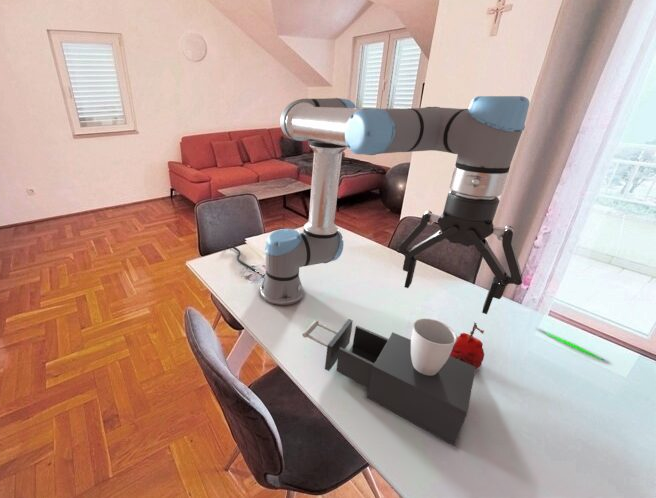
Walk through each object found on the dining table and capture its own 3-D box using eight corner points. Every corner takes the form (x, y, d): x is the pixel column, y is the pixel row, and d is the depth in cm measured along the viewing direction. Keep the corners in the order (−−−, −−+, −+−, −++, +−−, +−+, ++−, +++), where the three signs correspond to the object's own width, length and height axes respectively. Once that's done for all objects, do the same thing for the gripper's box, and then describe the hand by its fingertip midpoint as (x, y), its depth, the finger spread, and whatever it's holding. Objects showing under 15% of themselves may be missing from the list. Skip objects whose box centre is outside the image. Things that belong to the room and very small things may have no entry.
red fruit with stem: (482, 364, 83) (500, 319, 77) (474, 379, 78) (492, 332, 72) (451, 348, 88) (465, 304, 82) (441, 361, 84) (455, 316, 78)
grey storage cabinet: (366, 397, 74) (373, 366, 70) (386, 361, 84) (392, 332, 80) (454, 446, 63) (467, 412, 59) (464, 398, 73) (476, 366, 69)
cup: (450, 384, 65) (463, 347, 61) (409, 378, 67) (418, 341, 63) (438, 355, 72) (448, 320, 68) (401, 350, 74) (409, 316, 70)
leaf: (605, 363, 83) (606, 360, 83) (540, 332, 94) (541, 330, 94) (606, 361, 84) (607, 359, 83) (541, 331, 95) (542, 329, 94)
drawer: (295, 353, 85) (297, 329, 82) (318, 328, 94) (320, 306, 91) (391, 405, 71) (398, 379, 67) (407, 370, 80) (413, 346, 77)
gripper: (392, 186, 58) (374, 283, 67) (575, 215, 44) (523, 334, 52) (403, 178, 63) (386, 269, 72) (570, 202, 49) (524, 311, 58)
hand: (444, 296), depth 62 cm, fingers open, 13 cm apart
